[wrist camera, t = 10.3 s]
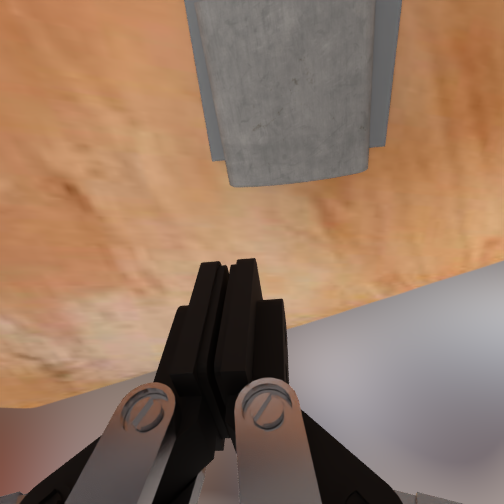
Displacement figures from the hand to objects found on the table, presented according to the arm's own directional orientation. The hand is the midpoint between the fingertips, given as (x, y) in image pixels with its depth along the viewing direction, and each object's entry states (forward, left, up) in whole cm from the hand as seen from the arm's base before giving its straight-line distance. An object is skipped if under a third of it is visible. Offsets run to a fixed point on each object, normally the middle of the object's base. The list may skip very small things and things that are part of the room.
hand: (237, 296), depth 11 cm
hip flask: (-4, +8, -29) cm, 31 cm away
